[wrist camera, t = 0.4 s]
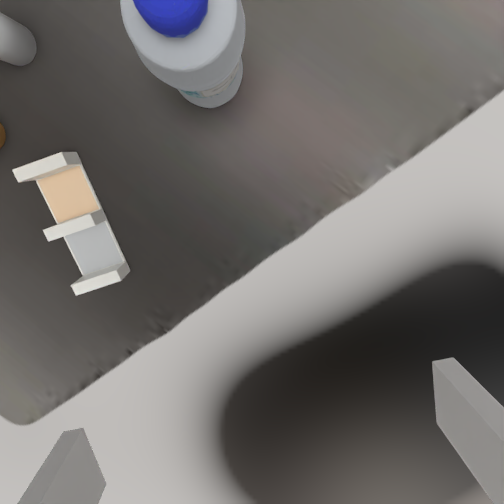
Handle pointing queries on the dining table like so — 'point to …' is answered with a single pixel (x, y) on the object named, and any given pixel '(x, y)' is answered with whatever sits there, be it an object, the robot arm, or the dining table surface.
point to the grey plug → (16, 42)
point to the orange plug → (2, 135)
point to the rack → (77, 219)
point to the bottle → (190, 45)
